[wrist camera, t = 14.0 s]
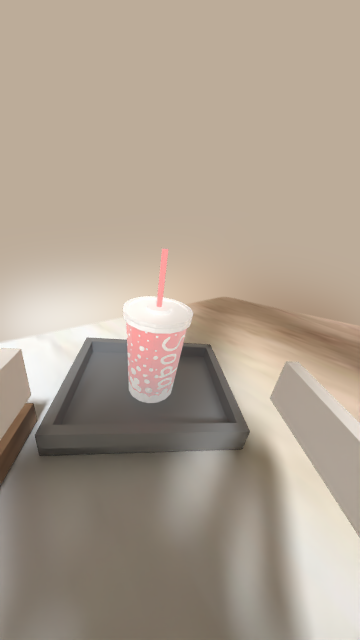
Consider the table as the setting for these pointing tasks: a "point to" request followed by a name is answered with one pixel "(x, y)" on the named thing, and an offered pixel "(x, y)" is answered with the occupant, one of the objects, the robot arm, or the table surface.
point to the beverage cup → (155, 341)
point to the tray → (140, 407)
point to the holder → (16, 438)
